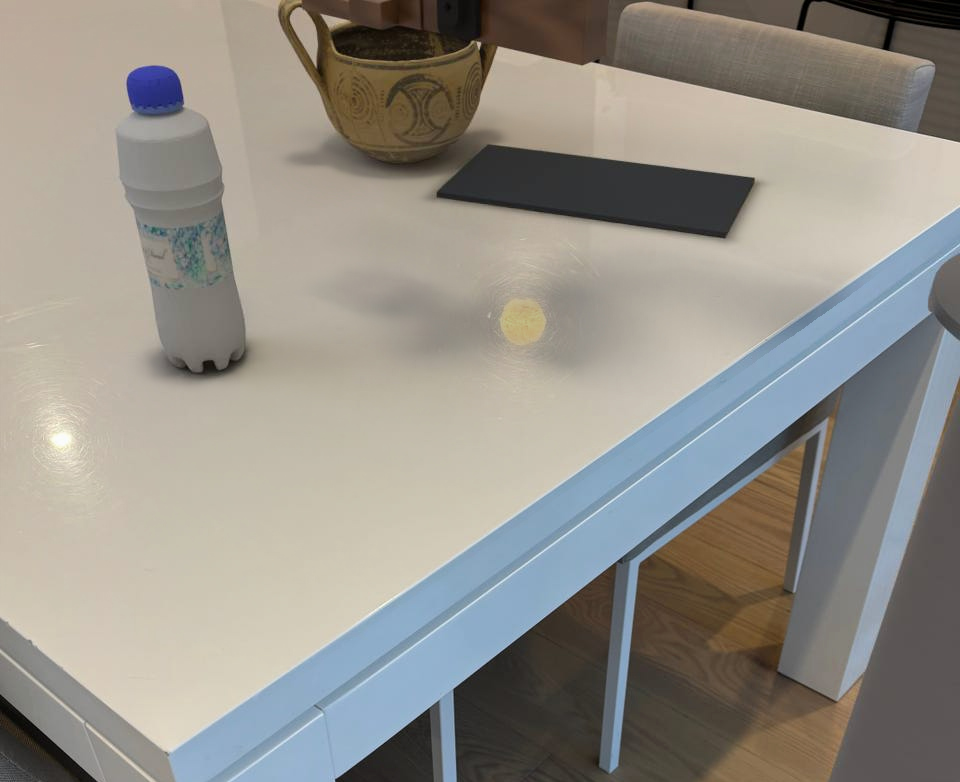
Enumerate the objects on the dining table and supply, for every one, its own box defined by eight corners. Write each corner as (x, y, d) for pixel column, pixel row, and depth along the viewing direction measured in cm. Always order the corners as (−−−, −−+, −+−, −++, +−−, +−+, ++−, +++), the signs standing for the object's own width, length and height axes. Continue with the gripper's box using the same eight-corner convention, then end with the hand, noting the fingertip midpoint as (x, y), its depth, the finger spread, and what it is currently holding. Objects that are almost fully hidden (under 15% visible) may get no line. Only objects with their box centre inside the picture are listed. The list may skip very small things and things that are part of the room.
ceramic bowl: (315, 195, 104) (296, 21, 94) (281, 138, 116) (261, -22, 106) (531, 166, 109) (535, -2, 99) (477, 115, 121) (476, -40, 111)
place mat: (754, 182, 106) (755, 177, 105) (725, 237, 96) (726, 232, 96) (487, 148, 113) (487, 143, 113) (436, 196, 104) (436, 191, 103)
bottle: (147, 354, 81) (78, 64, 68) (226, 328, 84) (176, 45, 71) (187, 389, 77) (122, 90, 64) (269, 361, 80) (224, 69, 67)
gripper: (511, -360, 63) (508, -3, 76) (310, -355, 54) (345, 49, 67) (617, -361, 59) (595, 14, 72) (420, -356, 51) (435, 71, 63)
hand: (475, 28), depth 69 cm, fingers closed on fork, 2 cm apart
